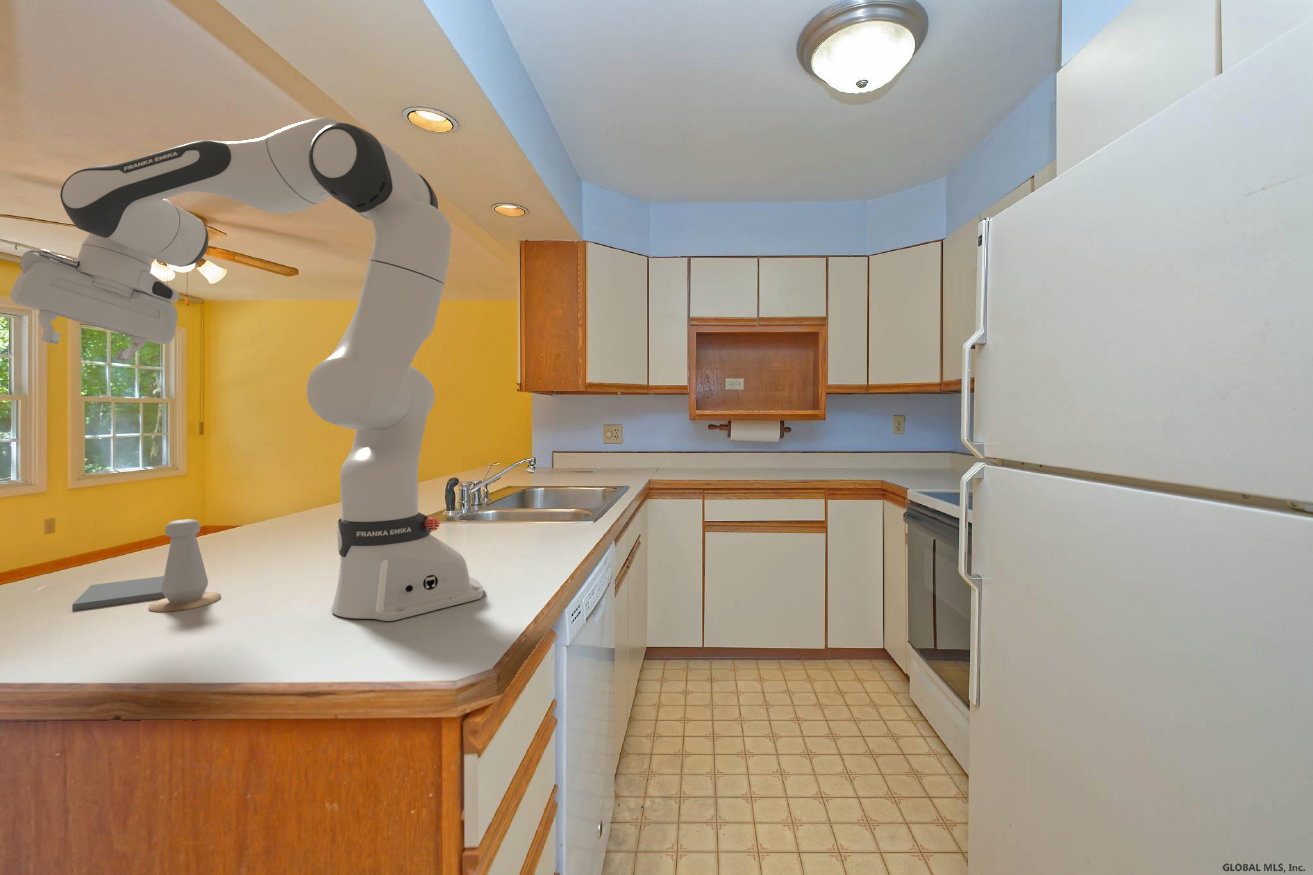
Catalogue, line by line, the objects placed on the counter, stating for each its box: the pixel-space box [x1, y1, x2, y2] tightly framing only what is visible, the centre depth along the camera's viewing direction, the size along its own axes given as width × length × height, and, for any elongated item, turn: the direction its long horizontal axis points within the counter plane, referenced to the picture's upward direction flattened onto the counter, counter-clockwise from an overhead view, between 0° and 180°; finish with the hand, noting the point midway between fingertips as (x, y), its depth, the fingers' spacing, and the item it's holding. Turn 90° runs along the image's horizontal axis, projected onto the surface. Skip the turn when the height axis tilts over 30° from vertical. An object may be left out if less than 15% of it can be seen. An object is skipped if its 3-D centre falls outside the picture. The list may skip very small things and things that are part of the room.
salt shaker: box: [161, 518, 209, 604], centre depth 92 cm, size 6×6×13 cm
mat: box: [71, 575, 166, 611], centre depth 97 cm, size 12×12×1 cm
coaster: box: [148, 591, 222, 613], centre depth 93 cm, size 9×9×1 cm
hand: (87, 352), depth 95 cm, fingers open, 8 cm apart
